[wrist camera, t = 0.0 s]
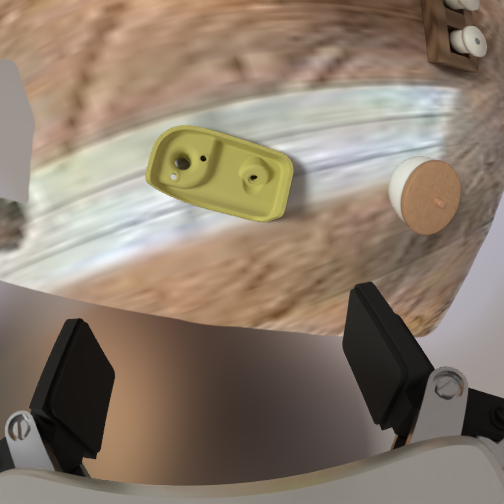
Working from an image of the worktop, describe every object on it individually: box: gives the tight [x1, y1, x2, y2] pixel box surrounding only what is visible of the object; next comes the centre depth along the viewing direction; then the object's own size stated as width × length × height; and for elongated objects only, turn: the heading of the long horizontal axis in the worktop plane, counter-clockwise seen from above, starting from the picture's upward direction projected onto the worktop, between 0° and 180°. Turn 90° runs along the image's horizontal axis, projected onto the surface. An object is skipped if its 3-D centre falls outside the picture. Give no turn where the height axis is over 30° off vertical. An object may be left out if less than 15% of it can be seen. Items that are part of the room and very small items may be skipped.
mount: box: [420, 0, 478, 73], centre depth 28 cm, size 28×10×4 cm, turn 5°
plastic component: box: [145, 125, 293, 222], centre depth 42 cm, size 20×7×10 cm
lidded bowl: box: [388, 156, 461, 235], centre depth 43 cm, size 13×13×11 cm
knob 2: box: [449, 26, 487, 57], centre depth 29 cm, size 6×6×5 cm
